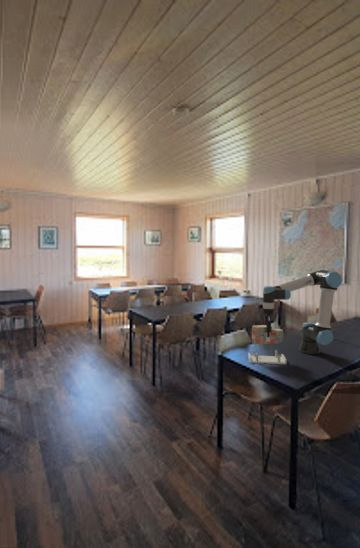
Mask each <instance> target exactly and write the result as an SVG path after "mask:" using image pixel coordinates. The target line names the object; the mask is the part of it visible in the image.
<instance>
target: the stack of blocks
mask: <svg viewBox="0 0 360 548" xmlns="http://www.w3.org/2000/svg"><path fill="white" fill-rule="evenodd" d="M266 331H267V327H266V325H264V324H260V325H258V324H257V325H252V326H251V343H253V344H254V345H270V344H271V345H272V344H283V343H284V330H283V329H281V328H273V326H271V332H270V342H267V341H266Z"/></svg>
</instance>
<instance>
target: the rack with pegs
mask: <svg viewBox="0 0 360 548" xmlns="http://www.w3.org/2000/svg"><path fill="white" fill-rule="evenodd" d="M247 358H248V361H249V364H264V363H266V364H265V365H267V364H271V365H272V364H273V365H287V362H288V361H287V358H286V357H285V355H284V354H283V353H281V354H280V353H278V349H275V350H274V356H273V355H259V353H257V349H255V348H254V349H253V355H251V353H250V352H247Z"/></svg>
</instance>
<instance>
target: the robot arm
mask: <svg viewBox="0 0 360 548" xmlns="http://www.w3.org/2000/svg"><path fill="white" fill-rule="evenodd" d="M342 282H343V278H342V276H341V274H340V273H339V272H338V271H334V270H325V269H321V270H316V271H313V272H310V273H307V274H306V275H305V276H302V277H299V278H297V279H293V280H291V281H287V282H284V283H281V284H279V285H274V286H272V285H270V286H269V285H266V286H264V287H263V291H262V296H263V297H262V303H261V305H262V314H264V315H263V316H264V319H263V320H264V321H263V322H264V323H263V325H266V327H267V331H266V341H267V342H270V332H271V327H272V316H271V315H274V311H275V306H274V305H275V301H276V300H277V301H286V300H287V301H288V300H289V299H291V294H292V293H291V292H293V291H294V292H295V291H297V290H300V289H304V288H305V287H309V286H310V287H313V286H319V289H320V291H321V293H320V299H319V306H318V311H317V319H316V322H315V321H314V322H310V321H308V322H303V323H302V326H301V327H302V328H301V329H302V331H301V332H302V333H301V342H300V345H299V352H300V353H302V354H306V355H314V356H315V355H320V354H321V348H320V346H319V345H323V346H326V345H327V346H328V345H329V344H330V343H332V342H333V340H334V333H333V332H332V326H331V317H332V311H333V303H334V299H335V298H334V297H335V293H336V292H337V291H338V288H339V287H340V286H341V285H342Z"/></svg>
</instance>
